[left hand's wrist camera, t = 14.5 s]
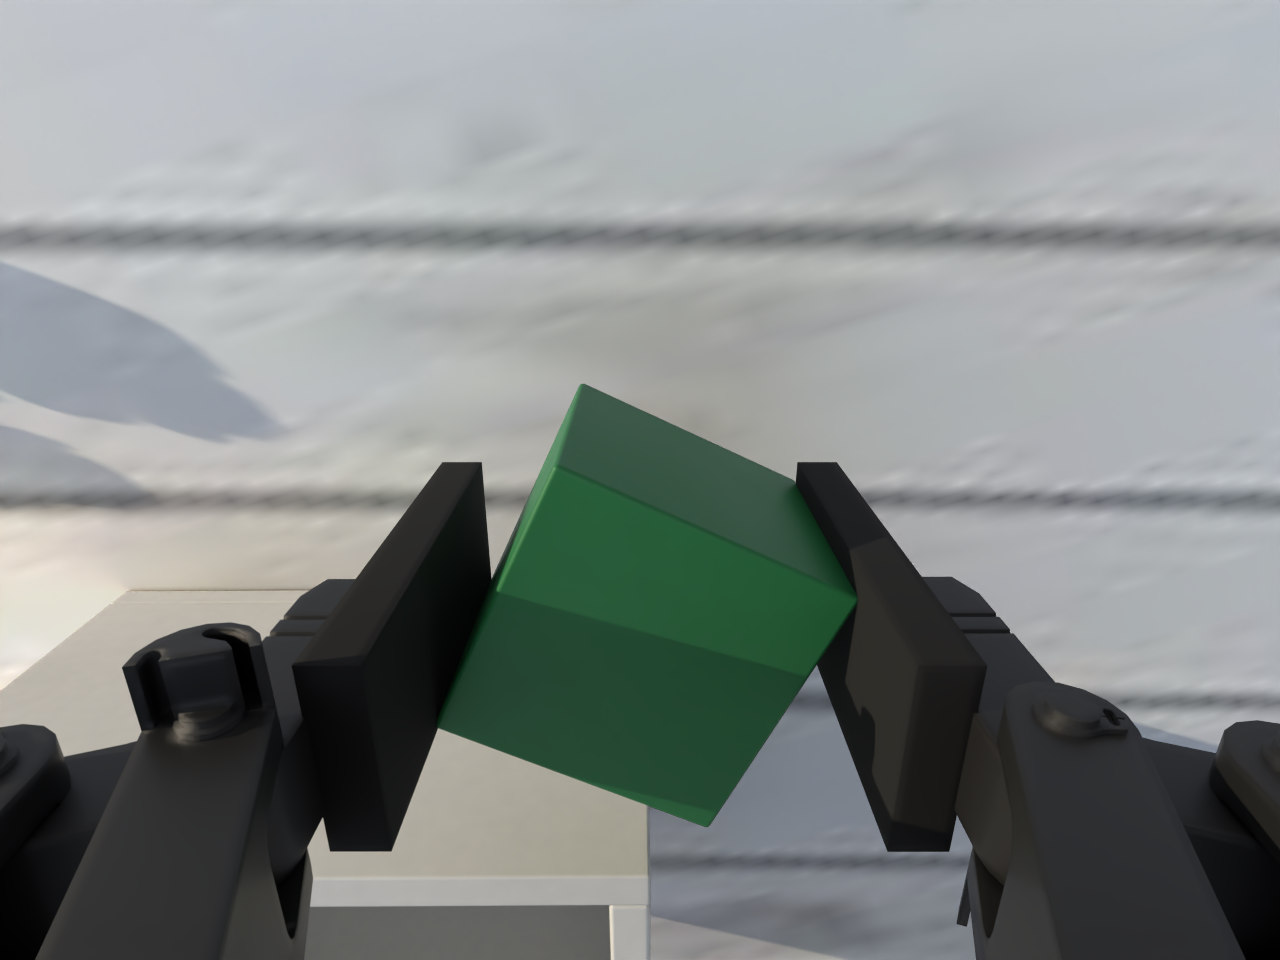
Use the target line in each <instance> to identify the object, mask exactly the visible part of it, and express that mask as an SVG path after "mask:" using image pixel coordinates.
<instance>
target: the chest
mask: <svg viewBox="0 0 1280 960" xmlns="http://www.w3.org/2000/svg"><path fill="white" fill-rule="evenodd" d="M308 591H310V590H263V591H128V592H125V593H124V594H123V595H121V596H120V597H119V598H118V599H116V600H115V601H114V602H113V603H112V604H110V605H108V606H107V607H106V608H104V609H103V610H102V611H100V612H99V613H98V614H97V615H95V616H94V617H93V618H92V619H90V620H89V621H88V622H87V623H85V624H84V625H83V626H82V627H80V628H79V629H78V630H77V631H75V632H74V633H73V634H71V635H70V636H69V637H68V638H66V639H65V640H64V641H63V642H61V643H60V644H59V645H58V646H56V647H55V648H54V649H53V650H51V651H50V652H49V653H47V654H46V655H45V656H44V657H42V658H41V659H40V660H39V661H37V662H36V663H35V664H34V665H32V666H31V667H30V668H29V669H27V670H26V671H25V672H24V673H22V674H21V675H20V676H18V677H17V678H16V679H15V680H13V681H12V682H11V683H10V684H8V685H7V686H6V687H5V688H3V689H2V690H1V691H0V727H5V726H12V725H19V724H30V725H40V726H45V727H46V728H48V729H49V730H51V731H52V732H54V733H55V734H56V736H57V739H58V742H59V745H60V747H61V750H62V753H63V756H64V757H65V756H70V755H75V754H79V753H84V752H89V751H94V750H99V749H104V748H108V747H113V746H118V745H123V744H127V743H131V742H135V741H137V740H138V738H139V736H140V733H141V728H140V725H139V722H138V719H137V715H136V712H135V709H134V705H133V702H132V699H131V696H130V692H129V689H128V686H127V683H126V679H125V676H124V673H123V670H122V666H123V665H124V664H125V663H126V662H127V661H128V660H129V659H130V658H131V657H132V656H133V654H134V653H136V652H137V651H139V650H140V649H142V648H144V647H145V646H147V645H148V644H150V643H152V642H153V641H155V640H157V639H159V638H162V637H164V636H167V635H169V634H172V633H174V632H177V631H179V630H182V629H186V628H191V627H195V626H199V625H204V624H210V623H227V622H232V623H237V624H243V625H248V626H250V627H252V628H253V629H255V630H256V631H257V632H259V633H260V635H261V640H262V641H263V639H264V638H265V637H266V636H270V631H271V630H272V629H273V628H274V627H275V625H276V624H277V623H278V622H279V621H280V620H283V619H284V615H285V614H286V612H287V611H288V610H289V609H290V608H291V607H292V605H293V604H294V603H295V602H296V601H297V599H298V598H299V597H300V596H301V595H303V594H305V593H306V592H308ZM307 848H308V852H309V857H310V861H311V867H312V874H313V884H312V893H311V902H310V911H309V920H308V929H307V938H306V946H305V955H304V960H650V827H649V806H647V805H644V804H642V803H639V802H636V801H634V800H631V799H628V798H625V797H623V796H620V795H617V794H615V793H612V792H609V791H606V790H604V789H601V788H598V787H596V786H593V785H590V784H588V783H585V782H582V781H579V780H577V779H574V778H571V777H569V776H566V775H563V774H560V773H558V772H555V771H552V770H550V769H547V768H544V767H541V766H539V765H536V764H533V763H531V762H528V761H525V760H522V759H520V758H517V757H514V756H512V755H509V754H506V753H504V752H501V751H498V750H495V749H493V748H490V747H487V746H485V745H482V744H479V743H476V742H474V741H471V740H468V739H466V738H463V737H460V736H457V735H455V734H452V733H449V732H447V731H444V730H441V729H438V730H437V733H436V735H435V738H434V741H433V743H432V746H431V749H430V751H429V754H428V756H427V759H426V762H425V764H424V767H423V770H422V772H421V775H420V778H419V780H418V783H417V786H416V788H415V791H414V793H413V796H412V799H411V801H410V804H409V807H408V809H407V812H406V815H405V817H404V820H403V823H402V825H401V828H400V830H399V833H398V836H397V838H396V841H395V844H394V846H393V849H392V852H330V849H329V845H328V840H327V835H326V830H325V825H324V820H323V818H322V820H321V822H320V824H319V826H318V828H317V829H316V831H315V833H314V835H313V837H312V839H311V841H310V843H309V845H308V847H307Z"/></svg>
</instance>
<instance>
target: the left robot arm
mask: <svg viewBox="0 0 1280 960" xmlns="http://www.w3.org/2000/svg"><path fill="white" fill-rule="evenodd" d="M796 486H797V488H798V490H799V491H800V493H801V495H802V497H803V499H804V500H805V502H806V504H807V506H808V508H809V509H810V511H811V513H812V515H813V517H814V518H815V520H816V522H817V524H818V526H819V527H820V529H821V531H822V533H823V535H824V536H825V538H826V540H827V542H828V544H829V546H830V547H831V549H832V551H833V553H834V555H835V556H836V558H837V560H838V562H839V564H840V565H841V567H842V569H843V571H844V573H845V574H846V576H847V578H848V580H849V582H850V583H851V585H852V587H853V589H854V591H855V592H856V594H857V598H858V602H857V605H856V606H855V608H854V609H853V611H852V612H851V614H850V615H849V617H848V618H847V620H846V621H845V623H844V624H843V626H842V627H841V629H840V630H839V632H838V633H837V635H836V636H835V638H834V639H833V641H832V642H831V644H830V645H829V647H828V648H827V650H826V651H825V653H824V654H823V656H822V657H821V659H820V660H819V662H818V663H817V666H818V669H819V671H820V674H821V677H822V679H823V682H824V685H825V687H826V690H827V693H828V695H829V698H830V700H831V703H832V706H833V708H834V711H835V714H836V716H837V719H838V722H839V724H840V727H841V730H842V732H843V735H844V737H845V740H846V743H847V745H848V748H849V751H850V753H851V756H852V759H853V761H854V764H855V767H856V769H857V772H858V775H859V777H860V780H861V782H862V785H863V788H864V790H865V793H866V796H867V798H868V801H869V804H870V806H871V809H872V812H873V814H874V817H875V819H876V822H877V825H878V827H879V830H880V833H881V835H882V838H883V841H884V843H885V846H886V849H887V851H888V852H949V850H950V845H951V840H952V836H953V831H954V826H955V821H956V816H958V818H959V820H960V822H961V824H962V825H963V827H964V829H965V831H966V833H967V835H968V837H969V839H970V841H971V843H972V845H973V848H972V852H971V857H970V861H969V866H968V870H967V875H966V880H965V884H964V889H963V893H962V898H961V902H960V907H959V912H958V919H957V924H959V925H963V926H966V927H967V923H968V919H969V914H970V911H971V918H972V927H973V936H974V944H975V953H976V960H1280V724H1278V723H1271V722H1265V721H1258V720H1256V721H1246V722H1236V723H1235V724H1233V725H1232V726H1230V727H1229V728H1227V729H1226V730H1224V733H1223V736H1222V739H1221V741H1220V744H1219V747H1218V750H1217V752H1216V753H1212V752H1207V751H1202V750H1197V749H1192V748H1187V747H1182V746H1177V745H1172V744H1168V743H1163V742H1158V741H1153V740H1150V739H1146V738H1142V736H1141V734H1140V732H1139V730H1138V729H1137V728H1136V726H1135V725H1134V724H1133V722H1132V721H1131V720H1130V718H1129V717H1128V716H1127V715H1126V714H1125V713H1124V712H1122V711H1121V710H1119V709H1118V708H1117V707H1115V706H1114V705H1113V704H1111V703H1110V702H1108V701H1107V700H1105V699H1103V698H1101V697H1098V696H1096V695H1094V694H1092V693H1090V692H1088V691H1085V690H1083V689H1080V688H1076V687H1072V686H1068V685H1065V684H1061V683H1055V682H1054V680H1053V679H1052V678H1051V677H1050V676H1049V675H1048V673H1047V672H1046V671H1045V670H1044V669H1043V668H1042V666H1041V665H1040V664H1039V663H1038V662H1037V661H1036V659H1035V658H1034V657H1033V656H1032V655H1031V654H1030V652H1029V651H1028V650H1027V649H1026V648H1025V647H1024V645H1023V644H1022V643H1021V642H1020V641H1019V640H1018V638H1017V637H1016V636H1015V635H1014V634H1010V629H1009V628H1008V627H1007V626H1006V624H1005V623H1004V622H1003V621H1002V620H1001V619H1000V617H996V613H995V612H994V610H993V609H992V608H991V607H990V606H989V605H988V603H987V602H986V601H985V600H984V599H983V598H982V596H981V595H980V594H979V593H977V592H976V591H974V590H972V589H971V588H969V587H967V586H966V585H964V584H963V583H961V582H959V581H958V580H956V579H954V578H953V577H921V575H920V574H919V573H918V571H917V570H916V569H915V567H914V566H913V565H912V563H911V562H910V561H909V559H908V558H907V556H906V555H905V554H904V552H903V551H902V550H901V548H900V547H899V546H898V544H897V543H896V542H895V540H894V539H893V538H892V536H891V535H890V534H889V532H888V531H887V530H886V528H885V527H884V525H883V524H882V523H881V521H880V520H879V519H878V517H877V516H876V515H875V513H874V512H873V511H872V509H871V508H870V507H869V505H868V504H867V503H866V501H865V500H864V499H863V497H862V496H861V494H860V493H859V492H858V490H857V489H856V488H855V486H854V485H853V484H852V482H851V481H850V480H849V478H848V477H847V476H846V474H845V473H844V472H843V470H842V469H841V468H840V466H839V465H838V463H837V462H798V463H797V475H796ZM490 582H491V569H490V557H489V545H488V533H487V521H486V509H485V497H484V485H483V473H482V462H442V464H441V465H440V466H439V468H438V469H437V470H436V472H435V473H434V474H433V476H432V477H431V478H430V480H429V481H428V483H427V484H426V485H425V487H424V488H423V489H422V491H421V492H420V493H419V495H418V496H417V497H416V499H415V500H414V501H413V503H412V504H411V505H410V507H409V508H408V509H407V511H406V512H405V514H404V515H403V516H402V518H401V519H400V520H399V522H398V523H397V524H396V526H395V527H394V528H393V530H392V531H391V532H390V534H389V535H388V536H387V538H386V539H385V540H384V542H383V543H382V544H381V546H380V547H379V549H378V550H377V551H376V553H375V554H374V555H373V557H372V558H371V559H370V561H369V562H368V563H367V565H366V566H365V567H364V569H363V570H362V571H361V573H360V574H359V575H358V577H357V578H356V579H327V580H326V581H324V582H323V583H321V584H319V585H318V586H316V587H314V588H313V589H311V590H310V591H308V592H306V593H305V594H303V595H301V596H300V597H299V598H298V599H297V601H296V602H295V603H294V604H293V605H292V607H291V608H290V609H289V610H288V611H287V612H286V614H285V615H284V619H283V620H280V621H279V622H278V623H277V624H276V625H275V627H274V628H273V629H272V630H271V631H270V636H266V637H265V638H264V639H263V641H262V640H261V635H260V633H259V632H257V631H256V630H255V629H253V628H252V627H250V626H248V625H243V624H237V623H232V622H227V623H210V624H204V625H199V626H195V627H191V628H186V629H182V630H179V631H177V632H174V633H172V634H169V635H167V636H164V637H162V638H159V639H157V640H155V641H153V642H152V643H150V644H148V645H147V646H145V647H144V648H142V649H140V650H139V651H137V652H136V653H134V654H133V656H132V657H131V658H130V659H129V660H128V661H127V662H126V663H125V664H124V665H123V666H122V670H123V673H124V676H125V679H126V683H127V686H128V689H129V692H130V696H131V699H132V702H133V705H134V709H135V712H136V715H137V719H138V722H139V725H140V728H141V733H140V736H139V738H138V740H137V741H135V742H131V743H127V744H123V745H118V746H113V747H108V748H104V749H99V750H94V751H89V752H84V753H79V754H75V755H70V756H65V757H64V756H63V753H62V750H61V747H60V745H59V742H58V739H57V736H56V734H55V733H54V732H52V731H51V730H49V729H48V728H46V727H45V726H40V725H30V724H19V725H12V726H5V727H0V960H304V955H305V946H306V938H307V929H308V920H309V911H310V902H311V893H312V884H313V874H312V867H311V861H310V857H309V852H308V848H307V847H308V845H309V843H310V841H311V839H312V837H313V835H314V833H315V831H316V829H317V828H318V826H319V824H320V822H321V820H322V818H323V820H324V825H325V830H326V835H327V840H328V845H329V849H330V852H392V849H393V846H394V844H395V841H396V838H397V836H398V833H399V830H400V828H401V825H402V823H403V820H404V817H405V815H406V812H407V809H408V807H409V804H410V801H411V799H412V796H413V793H414V791H415V788H416V786H417V783H418V780H419V778H420V775H421V772H422V770H423V767H424V764H425V762H426V759H427V756H428V754H429V751H430V749H431V746H432V743H433V741H434V738H435V735H436V733H437V730H438V728H437V717H438V714H439V712H440V709H441V707H442V704H443V702H444V699H445V696H446V694H447V691H448V689H449V686H450V684H451V681H452V679H453V676H454V674H455V671H456V669H457V666H458V664H459V661H460V658H461V656H462V653H463V651H464V648H465V646H466V643H467V641H468V638H469V636H470V633H471V631H472V628H473V625H474V623H475V620H476V618H477V615H478V613H479V610H480V608H481V605H482V603H483V600H484V598H485V595H486V593H487V590H488V587H489V585H490Z"/></svg>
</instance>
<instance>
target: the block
mask: <svg viewBox="0 0 1280 960" xmlns="http://www.w3.org/2000/svg"><path fill="white" fill-rule="evenodd" d="M857 602H858V598H857V594H856V592H855V591H854V589H853V587H852V585H851V583H850V582H849V580H848V578H847V576H846V574H845V573H844V571H843V569H842V567H841V565H840V564H839V562H838V560H837V558H836V556H835V555H834V553H833V551H832V549H831V547H830V546H829V544H828V542H827V540H826V538H825V536H824V535H823V533H822V531H821V529H820V527H819V526H818V524H817V522H816V520H815V518H814V517H813V515H812V513H811V511H810V509H809V508H808V506H807V504H806V502H805V500H804V499H803V497H802V495H801V493H800V491H799V490H798V488H797V486H796V483H795V482H794V480H792V479H790V478H788V477H785V476H783V475H781V474H779V473H777V472H775V471H772V470H770V469H768V468H766V467H764V466H762V465H759V464H757V463H755V462H753V461H751V460H749V459H746V458H744V457H742V456H740V455H738V454H736V453H733V452H731V451H729V450H727V449H725V448H722V447H720V446H718V445H716V444H714V443H712V442H709V441H707V440H705V439H703V438H701V437H699V436H696V435H694V434H692V433H690V432H688V431H686V430H683V429H681V428H679V427H677V426H675V425H673V424H670V423H668V422H666V421H664V420H662V419H659V418H657V417H655V416H653V415H651V414H649V413H646V412H644V411H642V410H640V409H638V408H636V407H633V406H631V405H629V404H627V403H625V402H623V401H620V400H618V399H616V398H614V397H612V396H610V395H607V394H605V393H603V392H601V391H599V390H597V389H594V388H592V387H590V386H588V385H586V384H581V385H580V386H579V388H578V390H577V392H576V394H575V396H574V399H573V401H572V403H571V405H570V407H569V410H568V412H567V414H566V416H565V418H564V421H563V423H562V425H561V427H560V429H559V432H558V434H557V436H556V438H555V441H554V443H553V445H552V447H551V449H550V452H549V454H548V456H547V458H546V460H545V463H544V465H543V467H542V469H541V471H540V474H539V476H538V478H537V480H536V482H535V485H534V487H533V489H532V491H531V493H530V496H529V498H528V500H527V502H526V504H525V507H524V509H523V511H522V513H521V515H520V518H519V520H518V522H517V524H516V526H515V529H514V531H513V533H512V535H511V537H510V540H509V542H508V544H507V546H506V548H505V551H504V553H503V555H502V557H501V559H500V562H499V564H498V566H497V568H496V570H495V573H494V575H493V577H492V580H491V582H490V585H489V587H488V590H487V593H486V595H485V598H484V600H483V603H482V605H481V608H480V610H479V613H478V615H477V618H476V620H475V623H474V625H473V628H472V631H471V633H470V636H469V638H468V641H467V643H466V646H465V648H464V651H463V653H462V656H461V658H460V661H459V664H458V666H457V669H456V671H455V674H454V676H453V679H452V681H451V684H450V686H449V689H448V691H447V694H446V696H445V699H444V702H443V704H442V707H441V709H440V712H439V714H438V717H437V728H438V729H441V730H444V731H447V732H449V733H452V734H455V735H457V736H460V737H463V738H466V739H468V740H471V741H474V742H476V743H479V744H482V745H485V746H487V747H490V748H493V749H495V750H498V751H501V752H504V753H506V754H509V755H512V756H514V757H517V758H520V759H522V760H525V761H528V762H531V763H533V764H536V765H539V766H541V767H544V768H547V769H550V770H552V771H555V772H558V773H560V774H563V775H566V776H569V777H571V778H574V779H577V780H579V781H582V782H585V783H588V784H590V785H593V786H596V787H598V788H601V789H604V790H606V791H609V792H612V793H615V794H617V795H620V796H623V797H625V798H628V799H631V800H634V801H636V802H639V803H642V804H644V805H647V806H650V807H653V808H655V809H658V810H661V811H663V812H666V813H669V814H672V815H674V816H677V817H680V818H682V819H685V820H688V821H690V822H693V823H696V824H699V825H701V826H704V827H708V826H710V824H711V823H712V821H713V820H714V818H715V817H716V815H717V814H718V812H719V811H720V809H721V808H722V806H723V805H724V803H725V802H726V800H727V799H728V797H729V796H730V794H731V793H732V791H733V790H734V788H735V787H736V785H737V784H738V782H739V781H740V779H741V778H742V776H743V775H744V773H745V772H746V770H747V769H748V767H749V766H750V764H751V763H752V761H753V760H754V758H755V757H756V755H757V754H758V752H759V751H760V749H761V748H762V746H763V745H764V743H765V742H766V740H767V739H768V737H769V736H770V734H771V733H772V731H773V730H774V728H775V727H776V725H777V724H778V722H779V721H780V719H781V718H782V716H783V714H784V713H785V711H786V710H787V708H788V707H789V705H790V704H791V702H792V701H793V699H794V698H795V696H796V695H797V693H798V692H799V690H800V689H801V687H802V686H803V684H804V683H805V681H806V680H807V678H808V677H809V675H810V674H811V672H812V671H813V669H814V668H815V666H816V665H817V663H818V662H819V660H820V659H821V657H822V656H823V654H824V653H825V651H826V650H827V648H828V647H829V645H830V644H831V642H832V641H833V639H834V638H835V636H836V635H837V633H838V632H839V630H840V629H841V627H842V626H843V624H844V623H845V621H846V620H847V618H848V617H849V615H850V614H851V612H852V611H853V609H854V608H855V606H856V605H857Z"/></svg>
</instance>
